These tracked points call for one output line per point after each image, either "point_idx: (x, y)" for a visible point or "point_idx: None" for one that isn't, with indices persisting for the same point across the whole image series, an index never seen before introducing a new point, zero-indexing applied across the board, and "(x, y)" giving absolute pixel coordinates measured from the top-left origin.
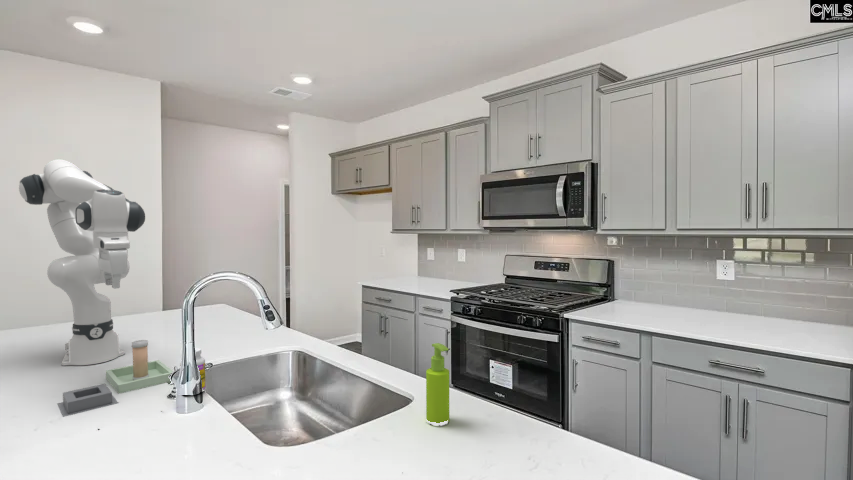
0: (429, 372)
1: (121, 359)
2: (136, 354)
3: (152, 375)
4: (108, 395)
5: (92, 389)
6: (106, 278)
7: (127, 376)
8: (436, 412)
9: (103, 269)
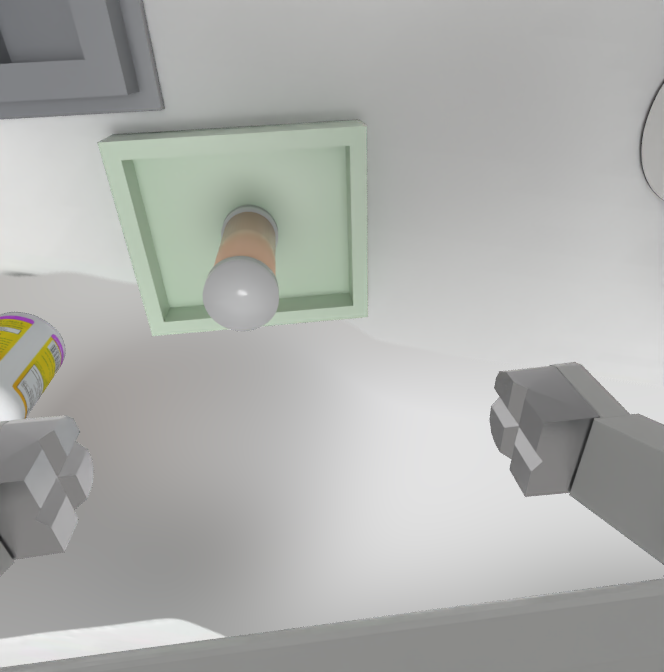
0: None
1: (621, 210)
2: (217, 257)
3: None
4: None
5: (80, 35)
6: (610, 445)
7: (322, 196)
8: None
9: (547, 655)
